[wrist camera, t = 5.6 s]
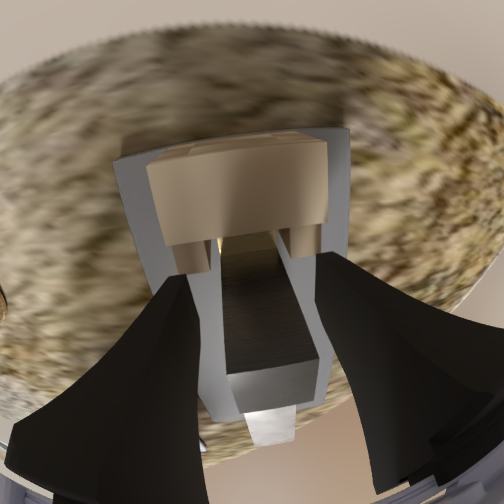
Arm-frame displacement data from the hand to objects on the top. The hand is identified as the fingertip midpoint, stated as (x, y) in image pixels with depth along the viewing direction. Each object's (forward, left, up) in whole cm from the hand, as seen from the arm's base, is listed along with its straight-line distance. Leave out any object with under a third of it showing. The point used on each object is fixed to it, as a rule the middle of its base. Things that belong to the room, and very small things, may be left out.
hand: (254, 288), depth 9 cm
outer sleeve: (0, -13, -4) cm, 13 cm away
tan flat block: (0, -4, -4) cm, 5 cm away
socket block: (0, +2, -4) cm, 4 cm away
